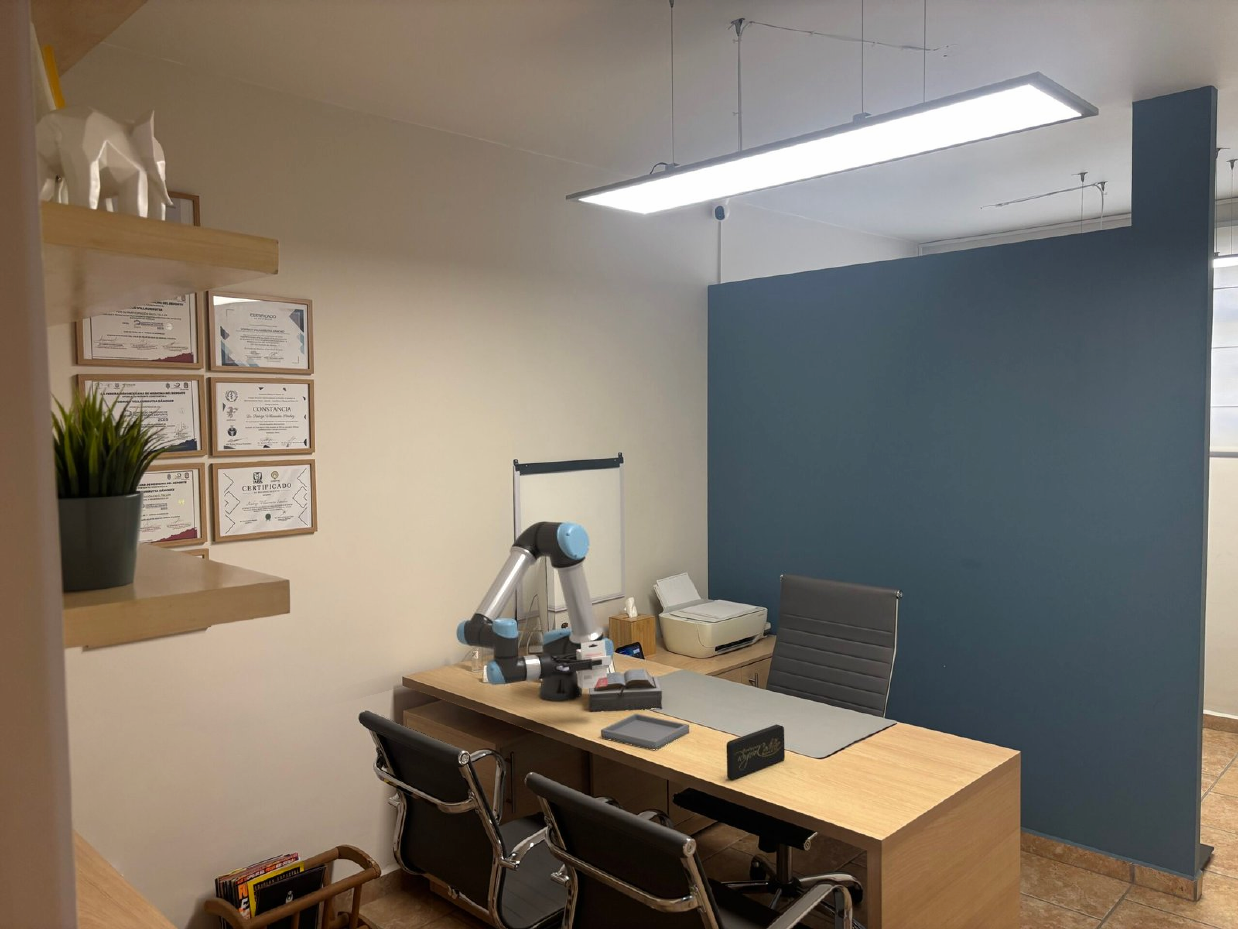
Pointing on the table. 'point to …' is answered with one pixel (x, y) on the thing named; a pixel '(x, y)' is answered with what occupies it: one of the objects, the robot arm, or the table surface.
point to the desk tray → (645, 731)
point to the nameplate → (755, 752)
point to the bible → (627, 692)
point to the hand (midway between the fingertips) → (607, 658)
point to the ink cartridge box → (598, 673)
